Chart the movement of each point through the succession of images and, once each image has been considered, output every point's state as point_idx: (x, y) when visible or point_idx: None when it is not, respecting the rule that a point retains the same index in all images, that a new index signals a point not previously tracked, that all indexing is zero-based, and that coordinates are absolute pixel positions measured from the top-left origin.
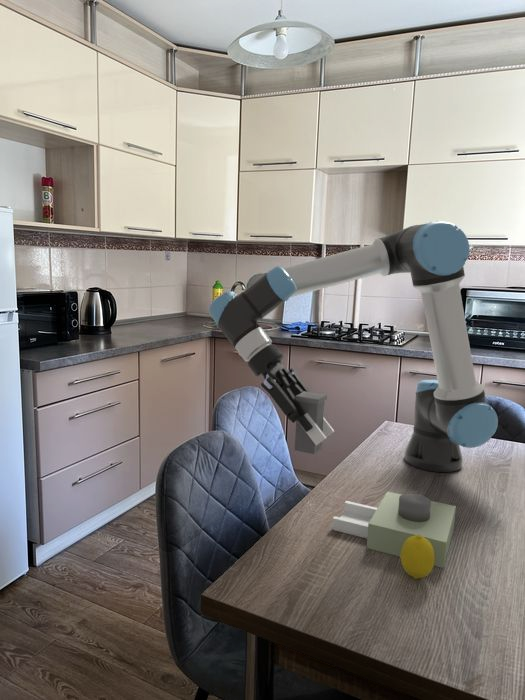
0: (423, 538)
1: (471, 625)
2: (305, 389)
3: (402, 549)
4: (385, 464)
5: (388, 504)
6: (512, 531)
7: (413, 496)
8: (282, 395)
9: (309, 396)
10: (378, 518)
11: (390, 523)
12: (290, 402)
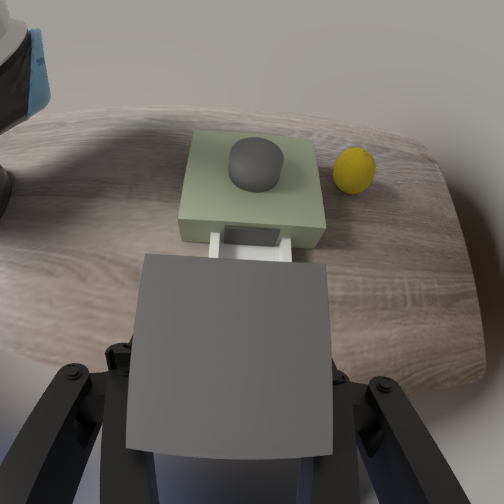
0: (361, 149)
1: (378, 151)
2: (49, 449)
3: (366, 180)
4: None
5: (235, 209)
6: (174, 109)
7: (242, 157)
8: (451, 479)
9: (280, 356)
10: (300, 216)
11: (305, 199)
12: (413, 431)
